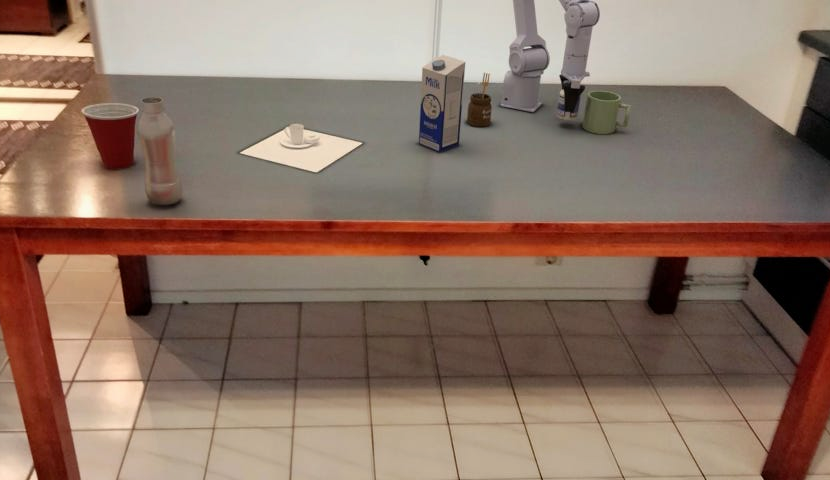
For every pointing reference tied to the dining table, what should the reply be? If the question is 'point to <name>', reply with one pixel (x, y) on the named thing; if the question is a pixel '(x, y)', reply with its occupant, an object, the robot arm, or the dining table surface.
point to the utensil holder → (480, 107)
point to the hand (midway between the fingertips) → (567, 107)
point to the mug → (603, 112)
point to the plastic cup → (113, 132)
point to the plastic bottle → (159, 153)
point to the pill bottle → (561, 108)
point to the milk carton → (441, 103)
